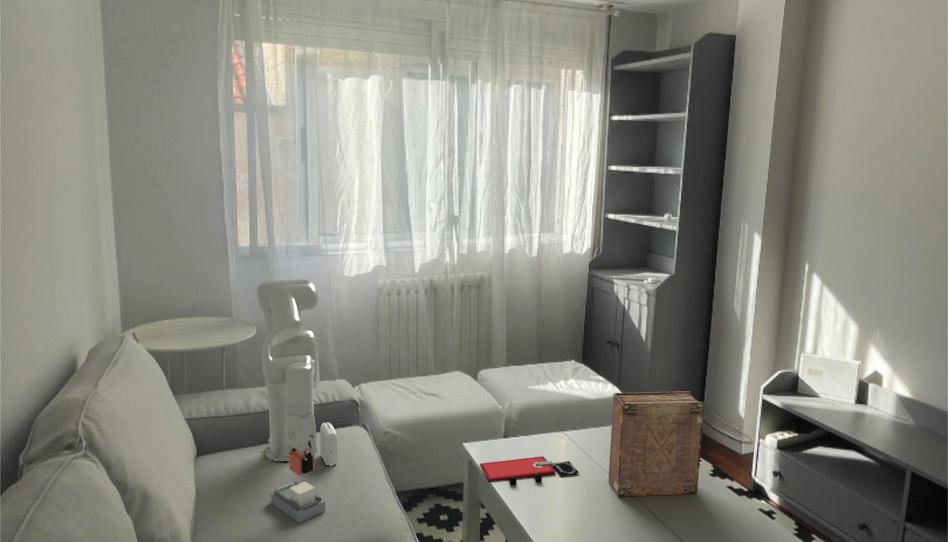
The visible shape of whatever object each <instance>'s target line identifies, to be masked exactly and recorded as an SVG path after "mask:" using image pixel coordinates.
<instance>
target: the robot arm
mask: <svg viewBox="0 0 948 542" xmlns="http://www.w3.org/2000/svg"><path fill="white" fill-rule="evenodd" d="M256 297H257V302H258V305H259V307H260V310H261V311H262V314H263V316H264V319H265V325H266V327H265V329H266V339H265V341H264V342H263V345H262V349H261V361H262V362H261V364H262V370H263V371H262V372H263V377H264V383H265V387H266V392H267V399H268V414H269V415H268V416H269V417H268V420H269V438H268V439H267V441H268V443H270V444H269V445H270V447H269V448H268V449H267V450H266V452H265V456H266V459H267V458H268V459H267V460H269V459H271V460H277V461H282V460H289V453H290V452H293V451H295V450H298V451H300V452H302V455H303V460H302V473H303V474H302V475H305V474H308V473H310V472H312V471H314V470H313V458H314V459H315V455H317V453H319V451H318V448H317V426H316V420H315V419H316V418H315V415H314V412H315V400H314V399H315V398H314V396H315V395H314V393H315V392H314V391H315V389H316V388H318V386H319V384H320V367H319V365H320V364H319V354H318V352H319V349H318V341H317V338H316V335H315V333H314V332H313V331H312V330H310V329H304V323H303V318H302V312H303V311H314V310H315V309H317V307H318V305H319V294H318V290H317V287H316V286H315V284H314V283H312V282H311V281H310V280H309V279H289V280H287V279H285V280H270V281H265V282H262V283H259V284H258V286H257V288H256ZM307 450H309V453H307V455H306V451H307ZM271 460H270V461H271Z"/></svg>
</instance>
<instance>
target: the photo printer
mask: <svg viewBox="0 0 948 542" xmlns="http://www.w3.org/2000/svg"><path fill="white" fill-rule="evenodd" d="M319 435H320V436H319V438H320V439H319V442H320V456H321V458H323V459H322V461H323V460H324V461H323V463H324V462H325V463H324V464H328V465H330V464H334V463H337V464H338V435H337V432H336V429H335V428H334V426H333V424H332V423H330V422H322V424H321V425H320V429H319Z"/></svg>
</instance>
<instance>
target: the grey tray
mask: <svg viewBox="0 0 948 542" xmlns="http://www.w3.org/2000/svg"><path fill="white" fill-rule="evenodd" d="M298 484H300V483H299V482H298V481H295V482H294V483H291V482H290V483H289V484H286V485H283V486H280V487H278V488H277V489H275V490H274V491H273V492H271V493H270V503H271V502H272V503H273V504H272V503H271V504H272V505H274V506H275V507H276V506H277V507H276V508H278V509H280V510H281V511H282V512H283V513H284V514H286V515H288V516H289V517H290V518H292V519H293V520H294V521H296V522H297V523H299V524H300V523H302V522H305V521H307V520H309V519H311V518H313V517H315V516H318V515H320V514H321V513H325V512H326V501H325V500H323V498H322V497H321V496H320V495H318V494H316V493H315V501H313V502H311V503H309V504H307V505H304V506H302V507H300V506H299V505H297V504H296V503H294V502H293V501H291V500H290V488H291V487H293V486H296V485H298Z"/></svg>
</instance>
